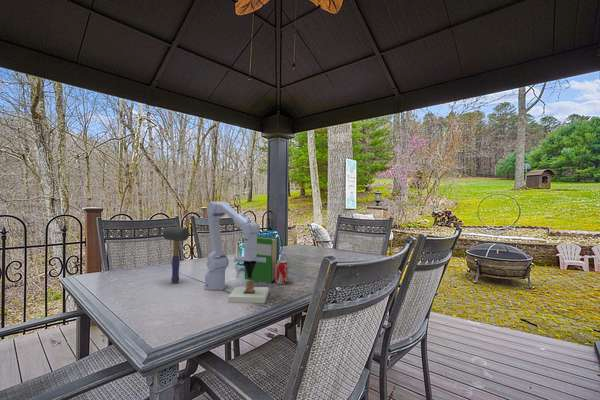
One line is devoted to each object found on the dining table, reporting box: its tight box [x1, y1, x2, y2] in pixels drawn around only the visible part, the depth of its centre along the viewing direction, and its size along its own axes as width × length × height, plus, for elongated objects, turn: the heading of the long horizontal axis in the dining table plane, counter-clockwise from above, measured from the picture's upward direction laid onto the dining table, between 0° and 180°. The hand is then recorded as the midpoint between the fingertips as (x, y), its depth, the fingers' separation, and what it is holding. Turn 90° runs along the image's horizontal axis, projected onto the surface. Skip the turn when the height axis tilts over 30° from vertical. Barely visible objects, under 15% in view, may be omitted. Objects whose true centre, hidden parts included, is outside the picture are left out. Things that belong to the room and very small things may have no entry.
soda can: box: [274, 259, 289, 285], centre depth 151 cm, size 7×7×12 cm
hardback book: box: [244, 235, 280, 285], centre depth 157 cm, size 18×7×24 cm, turn 63°
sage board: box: [227, 286, 270, 304], centre depth 128 cm, size 16×14×2 cm
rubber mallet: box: [162, 226, 190, 284], centre depth 149 cm, size 12×8×30 cm, turn 72°
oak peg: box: [245, 280, 255, 294], centre depth 128 cm, size 4×4×7 cm
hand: (249, 277), depth 128 cm, fingers closed
